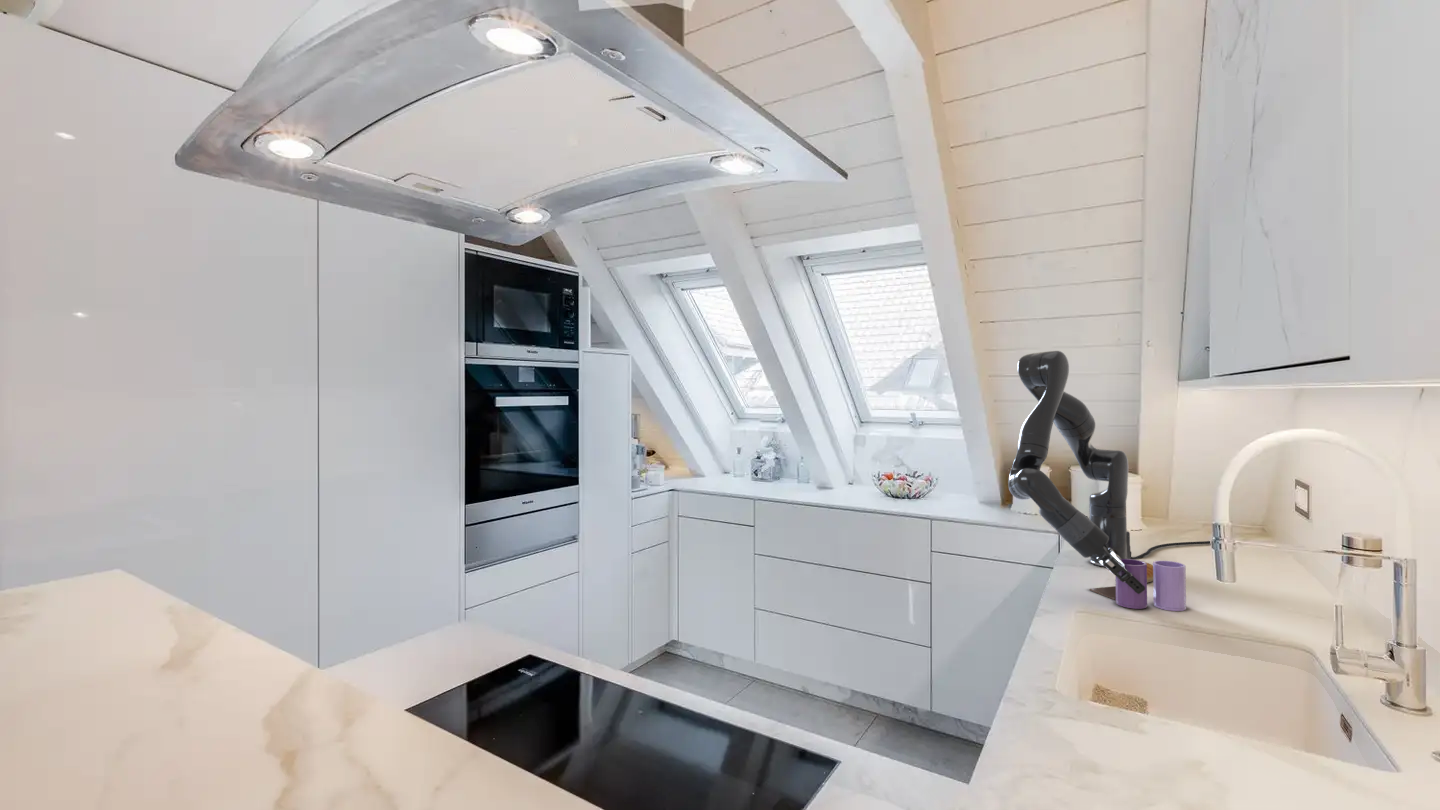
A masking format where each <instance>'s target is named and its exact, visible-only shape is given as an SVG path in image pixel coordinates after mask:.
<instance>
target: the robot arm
mask: <svg viewBox="0 0 1440 810" xmlns="http://www.w3.org/2000/svg"><path fill="white" fill-rule="evenodd" d="M1016 368H1017V373H1018V377H1019V379H1020V381H1021V383H1022V384H1023V385H1024V387H1025V388H1026V389H1027V391H1028V392H1030V394H1031V395H1032V396H1033V397H1034V398H1035V399H1036V401H1037V402H1038V403H1037V404H1036V405H1035V406H1034V408H1033V409H1032V410H1031V412H1030V413H1029V414H1028V415H1027V417H1026V418H1025V420H1024V421H1023V422H1022V425H1021V427H1020V430H1019V436H1018V441H1017V447H1016V449H1017V450H1016V454H1015V458H1014V460H1013V463H1012V466H1011V468H1010V472H1009V476H1008V481H1007V484H1008V485H1007V487H1008V490H1009V492H1010V494H1011V495H1012V496H1013V497H1014V498H1016V499H1018V500H1021V501H1022V500H1023V501H1024V500H1030V499H1031V500H1032V501H1033V502H1034V503H1035V504H1036V505H1037V507H1038V508H1039V509H1038V513H1039V515H1040V516H1041V518H1042V519H1043V520H1045V521H1046V522H1047V523H1048V524H1049V525H1050V527H1052V528H1053V529H1054V530H1055V531H1056V532H1057V533H1058V534H1059V536H1061V538H1062V539H1064V540H1065V541H1066V543H1068V545H1070V546H1071V547H1072V548H1073V549H1074V550H1075V551H1076V552H1077V553H1078V554H1079V555H1081V556H1082V557H1083V558H1085V559H1086V558H1087V559H1088V558H1089V563H1090V564H1092V565H1095V566H1099V567H1102V568H1103V567H1104V568H1106V569H1107V570H1108V571H1109V572H1110V573H1111V574H1112V575H1114V576H1115V577H1116V576H1117V577H1118V578H1119V579H1120V581H1122V582H1125V583H1127V584H1128V585H1129V586H1130V587H1131V588H1132V589H1133V590H1134V591H1135V592H1136V593H1138V594H1140V593H1141V592H1143V591H1144V590H1145V587H1144V585H1142V584H1141V583H1140V582H1139V581H1138V580H1137V579H1136V578H1135V577H1134V576H1133V575H1132V573H1131V572H1129V571H1128V570H1127V569H1126V568H1125V567H1126V566H1125V564H1124V563H1123V562H1122V561H1121V560H1120V559H1134V560H1139V559H1142V558H1144V557H1146V556H1148V555H1149V554H1150V553H1151V552H1152V551H1154V550H1157V549H1161V548H1166V547H1174V546H1188V545H1189V546H1191V545H1209V544H1210V541H1211V540H1201V541H1181V542H1170V543H1163V544H1158V545H1154V546H1152V547H1150V548H1148V549H1147V551H1145V552H1144V553H1143V552H1142V553H1141V554H1139V555H1137V556H1132V551H1131V533H1130V532H1129V531H1128V530H1127V529H1128V527H1127V526H1128V525H1127V524H1128V523H1127V521H1128V520H1127V499H1128V491H1129V490H1128V489H1129V488H1128V485H1129V458H1128V456H1127V454H1126V452H1125V451H1123V450H1118V449H1105V448H1104V449H1103V448H1102V449H1101V448H1096V447H1094V446H1093V444H1092V442H1091V440H1092V439H1093V436H1094V434H1095V430H1096V420H1095V418H1094V416H1093V414H1092V413H1091V411H1090V410H1089V408H1088V407H1087V405H1086V404H1085V403H1084V402H1083V401H1082V400H1081V399H1079V398H1077V397H1076V396H1074V395H1072V394H1070V393H1068V392H1066V391H1065V389H1066V385H1067V383H1068V378H1069V373H1070V364H1069V360H1068V357H1067V355H1066V354H1065V352H1062V351H1061V350H1048V351H1040V352H1033V353H1028V354H1025V355H1023V356H1021V357H1020V358H1019V360H1018V361H1017V367H1016ZM1053 425H1054V426H1055V427H1056V429H1057V430H1058V432H1059V433H1060V434H1061V436H1062V437H1063V438H1064V441H1066V443H1067V445H1068V446H1069V448H1070V449H1071V451H1072V453H1073V455H1074V457H1075V459H1076V461H1077V463H1078V465H1079V467H1080V469H1081V471H1082V473H1083V474H1084V476H1085V477H1086V478H1088V479H1089V480H1093V481H1097V482H1108V483H1107V487H1106V489H1104V490H1101V491H1097V492H1093V493H1090V494H1089V497H1088V502H1089V503H1088V507H1089V509H1088V510H1089V511H1088V512H1089V513H1088V514H1089V517H1088V516H1087V515H1085V514H1084V513H1083V512H1081V511H1080V510H1079V509H1077V507H1075V506H1074V505H1073V504H1072V503H1071V502H1070V501H1069V500H1067V499H1066V498H1065V497H1064V496H1063V494H1062V493H1061V492H1060V490H1059V489H1058V487H1057V486H1056V485H1055V484H1054V482H1053V481H1052V480H1051V478H1050V477H1049V476H1048V475H1047V474H1046V473H1044V472H1043V471H1042V470H1041V468H1042V465H1043V464H1044V463H1045V461H1046V459H1048V458H1047V457H1048V453H1049V447H1050V440H1051V434H1052V430H1053ZM1210 545H1211V544H1210ZM1119 563H1120V564H1119ZM1121 570H1123V571H1124V572H1125V573H1124V574H1123V575H1122V576H1121V575H1120V574H1119V572H1120V571H1121Z"/></svg>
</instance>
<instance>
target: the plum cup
mask: <svg viewBox="0 0 1440 810" xmlns="http://www.w3.org/2000/svg"><path fill="white" fill-rule="evenodd" d="M1120 560H1121V561H1122V562H1123V563H1124V564H1125V566H1126V567H1125V568H1126V569H1127V570H1128V571H1129V572H1131V573H1132V575H1133V576H1134V577H1135V578H1136V579H1137V580H1138V581H1139V582H1140V583H1141V584H1142V585H1144V587H1145V590H1144V591H1143V592H1141V593H1140V594H1138V593H1136V592H1135V591H1134V590H1133V589H1132V588H1131V587H1130V586H1129V585H1128V584H1127V583H1125V582H1122V581H1120V579H1119V578H1118V577H1117V576H1116V575H1115V586H1116V600H1115V603H1116V605H1118V606H1120V607H1123V608H1128V609H1134V610H1142V609H1147V608H1148V582H1147V563H1148V562H1146V563H1145V561H1144V560H1139V559H1120ZM1119 564H1120V563H1119ZM1124 573H1125V572H1124V571H1123V570H1121V571H1120V572H1119V574H1120V575H1121V576H1122V575H1123V574H1124Z"/></svg>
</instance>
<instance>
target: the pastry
mask: <svg viewBox="0 0 1440 810" xmlns="http://www.w3.org/2000/svg"><path fill="white" fill-rule="evenodd" d="M1144 562H1145V561H1144ZM1145 563H1147V584H1149V583H1153V564H1151V563H1149V562H1145Z"/></svg>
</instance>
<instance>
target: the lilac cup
mask: <svg viewBox="0 0 1440 810" xmlns="http://www.w3.org/2000/svg"><path fill="white" fill-rule="evenodd" d="M1152 565H1153V582H1152V583H1153V584H1152V585H1153V586H1152V587H1153V593H1152V594H1153V595H1152V596H1153V606H1154V607H1155V608H1157V609H1161V610H1165V611H1171V612H1184V611H1186V610H1187V579H1186V578H1187V575H1186V574H1187V573H1186V572H1187V571H1186V568H1187V567H1186V564H1184V563H1182V562H1177V561H1173V560H1154V561H1153V562H1152Z"/></svg>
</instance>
